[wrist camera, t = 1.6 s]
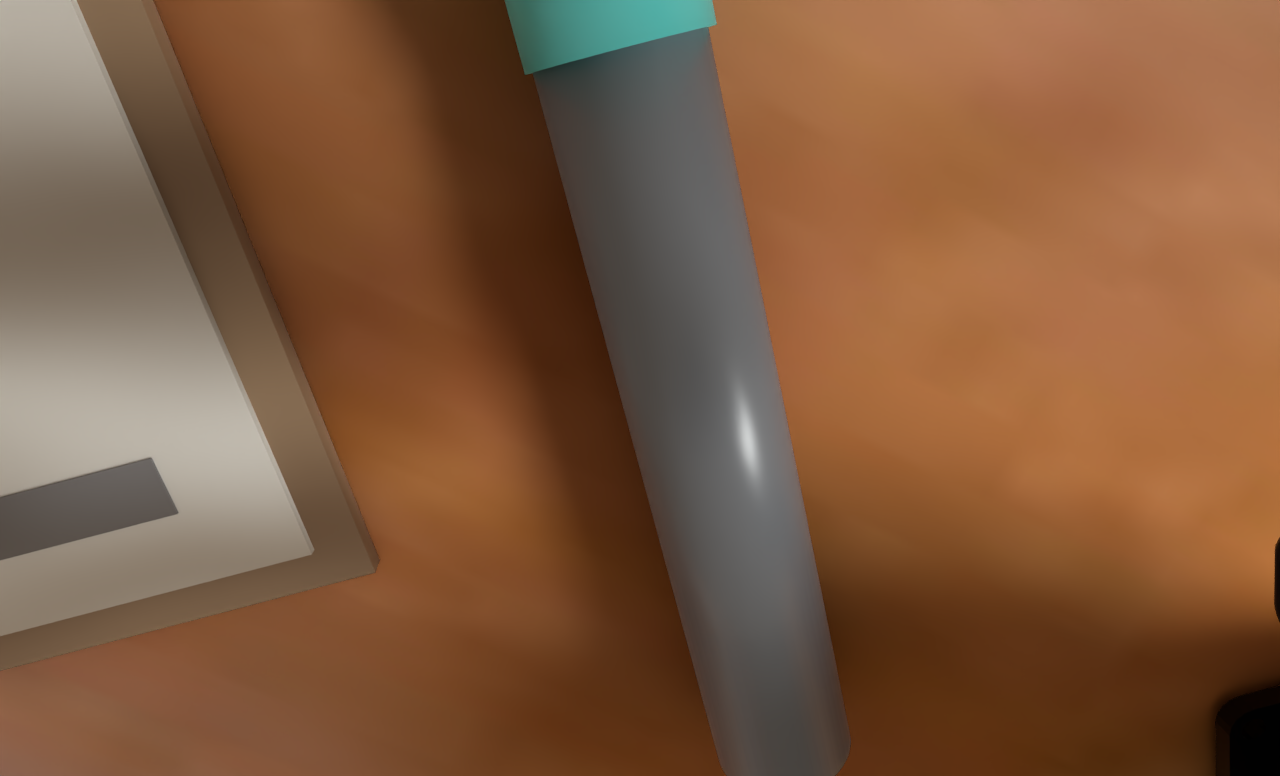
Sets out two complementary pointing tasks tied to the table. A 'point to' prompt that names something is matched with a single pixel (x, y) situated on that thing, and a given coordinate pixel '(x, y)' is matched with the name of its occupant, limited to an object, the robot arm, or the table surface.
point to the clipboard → (140, 357)
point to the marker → (692, 362)
